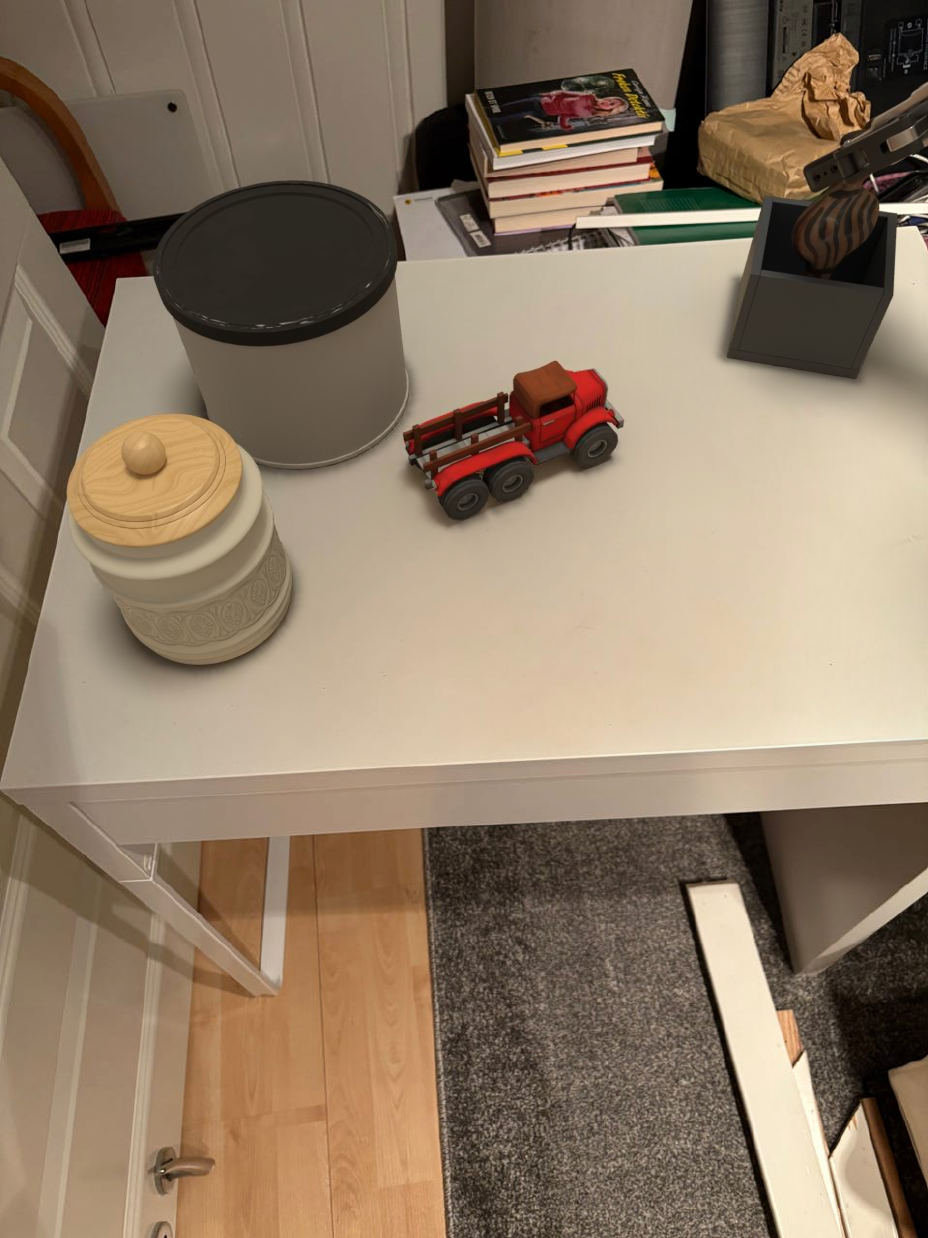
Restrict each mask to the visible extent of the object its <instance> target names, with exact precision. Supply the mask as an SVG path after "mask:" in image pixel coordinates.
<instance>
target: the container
mask: <svg viewBox="0 0 928 1238" xmlns="http://www.w3.org/2000/svg"><path fill="white" fill-rule="evenodd" d="M397 247H398V246H397V238H396V233H395V231H394V228H393V226H392V222H391V220H389V218H388V217H387V215H386V213H385V212H384V211H383V210H382V209H381V208H380V207H378V206H377V205H376V204H375V203H374V202H373V201H371V200H370V199H368V198H367V197H365V196H363V195H361V194H360V193H358V192H355V191H353V190H351V189H348V188H345V187H342V186H338V185H335V184H331V183H325V182H321V181H312V180H295V179H293V180H292V179H289V180H288V179H286V180H273V181H265V182H264V181H263V182H259V183H253V184H249V185H246V186H241V187H237V188H233V189H230V190H228V191H225V192H222V193H220V194H217V195H215V196H213V197H211V198H208V199H206V200H205V201H203V202H201V203H199V204H198V205H196V206H195V207H193V208H191V209H190V210H188V211H187V212H186V213H184V214H182V216H180V217H179V218H177V220H176V221H175V222H174V223H172V225H170V227H169V228H168V230H167V231H166V232H165V233H164V235H163V236H162V237H161V239H160V241H159V243H158V244H157V247H156V249H155V252H154V255H153V260H152V276H153V280H154V281H153V282H154V284H155V287H156V289H157V293H158V295H159V298H160V299H161V302H162V304H163V306H164V308H165V309H166V311H167V312H168V313H169V314H170V315H171V317H172V319H173V321H174V325H175V327H176V330H177V332H178V335H179V337H180V340H181V342H182V346H183V348H184V351H185V353H186V356H187V359H188V361H189V364H190V367H191V368H192V373H193V375H194V377H195V380H196V383H197V385H198V388H199V390H200V394H201V395H202V398H203V401H204V404H205V407H206V413H207V417H208V421H211V422H213V423H215V424H216V425H218V426H219V427H221V428H222V429H224V430H225V431H226V432H227V433H228V434H229V435H230V436H231V437H232V439H233V440H234V441H235V443H237V444H238V445H240V446H241V447H242V448H243V449H245V450H246V451H247V452H248V453H249V454H250V456H251V457H252V458H253V459H254V461H255V462H256V464H259V465H262V466H266V467H270V468H271V467H272V468H277V469H284V470H285V469H286V470H287V469H289V470H303V469H304V470H305V469H314V468H315V469H316V468H322V467H327V466H331V465H334V464H339V463H341V462H344V461H346V460H349V459H352V458H354V457H356V456H358V455H360V454H362V453H364V452H366V451H368V450H369V449H371V448H372V447H374V446H375V445H377V444H378V443H380V442H381V441H382V440H383V439H384V438H385V437H386V436H387V435H389V433H390V432H391V431H392V430H393V429H395V426H396V425H397V424H398V422H399V421H400V419H401V418H402V416H403V414H404V412H405V410H406V407H407V405H408V404H407V403H408V400H409V396H410V383H409V382H410V381H409V374H408V371H407V368H406V363H405V354H404V352H405V351H404V345H403V336H402V325H401V316H400V308H399V307H400V306H399V299H398V297H399V296H398V288H397V280H396V273H397V270H398V269H397V268H398V248H397Z"/></svg>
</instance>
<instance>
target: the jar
mask: <svg viewBox="0 0 928 1238" xmlns="http://www.w3.org/2000/svg"><path fill="white" fill-rule="evenodd" d="M257 464H258V463H256V462H255V461H254V459H253V458H252V457H251V456H250V454H249V453H248V452H247V451H246V450H245V449H243V448H242V447H241V446H240V445H238V444H237V443H235V441H234V440H233V439H232V437H231V436H230V435H229V434H228V433H227V432H226V431H225V430H224V429H222V428H221V427H219V426H218V425H216V424H215V423H213V422H211V421H210V420H209V419H205V418H202V417H200V416H197V415H191V414H184V413H161V414H152V415H148V416H147V415H146V416H143V417H139V418H136V419H133V420H130V421H128V422H125V423H122V424H121V425H118V426H117V427H114V428H112V429H111V430H109V431H107V432H106V433H104V434H103V435H102V436H100V437H99V438H97V439H96V440H95V441H94V442H92V443H91V445H89V446H88V447H87V448H86V449H85V450H84V451H83V452H82V454H81V455H80V457H79V458H78V459H77V461H76V462H75V464H74V466H73V467H72V469H71V472H70V475H69V477H68V480H67V486H66V501H67V505H68V516H67V517H68V518H67V519H68V529H69V534H70V538H71V541H72V543H73V544H74V546H75V548H76V549H77V551H78V553H79V554H80V555H81V556H82V557H83V558H84V559H85V560H86V562H88V563H89V566H90V568H91V571H92V573H93V575H94V576H95V578H96V579H97V581H98V582H99V583H100V585H101V586H102V587H103V588H104V589H105V590H106V591H107V592H108V593H109V594H110V596H111V597H112V599H113V601H114V602H115V603H116V605H117V606H118V608H119V609H120V612H121V615H122V617H123V619H124V621H125V623H126V625H127V626H128V628H129V629H130V631H131V632H132V633H133V635H134V636H135V637H136V638H137V639H138V641H140V643H142V644H143V645H145V646H146V647H147V648H149V649H150V650H151V651H153V652H154V653H156V654H157V655H159V656H161V657H163V658H164V659H167V660H169V661H172V662H175V663H179V664H186V665H197V666H199V665H200V666H201V665H212V664H219V663H222V662H226V661H230V660H232V659H235V658H238V657H240V656H242V655H244V654H246V653H248V652H250V651H251V650H253V649H255V648H256V647H258V646H259V645H260V644H262V643H263V642H264V641H265V640H267V638H269V637H270V636H271V634H273V632H274V631H276V629H278V627H279V626H280V624H281V622H282V621H283V619H284V617H285V616H286V614H287V611H288V610H289V609H288V608H289V606H290V603H291V598H292V593H293V591H292V590H293V572H292V571H293V569H292V565H291V561H290V559H289V555H288V552H287V550H286V547H285V545H284V544H283V542H282V541H281V539H280V538H281V537H280V536H279V533H278V529H277V526H276V524H275V517H274V510H273V506H272V502H271V501H270V498H269V496H268V495H267V493H266V492H265V490H264V482H263V477H262V473H261V470H260V468H259V465H257Z"/></svg>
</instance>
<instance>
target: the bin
mask: <svg viewBox="0 0 928 1238" xmlns="http://www.w3.org/2000/svg"><path fill="white" fill-rule="evenodd" d="M813 202H814V201H809V200H803V199H796V198H795V199H794V198H787V197H782V196H781V197H780V196H772V195H764V197H763V200H762V203H761V207H760V211H759V214H758V217H757V221H756V225H755V229H754V231H753V232H754V233H753V236H752V240H751V244H750V247H749V251H748V254H747V258H746V261H745V265H744V268H743V273H742V276H741V280H740V285H739V290H738V295H737V301H736V306H735V311H734V316H733V322H732V327H731V332H730V337H729V343H728V349H727V354H726V358H731V359H736V360H742V361H747V362H748V361H749V362H754V363H760V364H765V365H771V366H772V365H773V366H777V367H784V368H790V369H797V370H802V371H808V372H812V373H813V372H814V373H821V374H826V375H833V376H837V377H844V378H850V379H857V377H858V375H859V372H860V371H861V368H862V366H863V364H864V361H865V359H866V357H867V356H868V353H869V351H870V348H871V346H872V344H873V342H874V340H875V337H876V335H877V333H878V332H879V329H880V326H881V324H882V322H883V320H884V318H885V316H886V313H887V312H888V308H889V307H890V304H891V302H892V300H893V298H894V296H895V295H894V292H895V274H896V273H895V272H896V252H897V233H898V232H897V230H898V212H891V211H884V210H879V214H878V218H877V221H876V223H875V226H874V228H873V230H872V232H871V234H870V235H869V237H868V238H867V239H866V240H865V241H864V242H863V243H862V244H861V245H860V246H859V247H858V248H856V249H855V250H853V251H852V252H850V253H849V254H848V255H846V256H845V257H844V258H843V259H842V260H841V262H840V263H839V264H838V266H837V268H836V270H835V272H834V274H833V276H832V279H831V280H827V279H820V278H813V277H807V276H804V273H805V268H806V267H805V266H806V265H805V262H804V261H803V260H800V259H799V257H797V256H796V255H795V254H794V252H793V249H792V247H791V242H790V236H791V232H792V229H793V227H794V225H795V223H796V221H797V219H798V218H799V217H800V215H801V214H802V213H803V212H804V211H805V210H806V209H807V207H808V206H810V205H811V204H812V203H813Z"/></svg>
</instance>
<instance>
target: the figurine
mask: <svg viewBox="0 0 928 1238" xmlns="http://www.w3.org/2000/svg"><path fill="white" fill-rule="evenodd" d="M869 129H870V128H868V129H865V128H863V129H857V130H853V131H849V132H847V133H845V134H844V135H843V136H842V137H841V138H840V141H839V147H841V146H842V145H844V142H846V141H847V140H849V139H851V140H852V139H854V138H856V137H858V136H859V135H861V134H863V133H865V132H866V131H868V130H869ZM860 149H861V152H862V154H863V157H864V160H865V162H868V158H867V156H866V153H865V151H864V149H863V148H860ZM871 175H872V174H870V175H868V176H866V177H863V178H861V179H859V180H858V181H857V182H856V183H854V184H852V185H851V184H849V185H846V186H845V184H844V181H843V180H842V181H840V182H838V183H836V184H834V185H832V186H830V187H828V189H827V190H826V191H825V192H824V193H823V194H821V196H819V197H818V198H817V199H816V200H814V201H812V202H813V203H812V204H811V205H810V206H808V207H807V209H806V210H805V211H804V212H803V213H802V214H801V215H800V217H799V218H798V219H797V221H796V223H795V225H794V227H793V229H792V232H791V236H790V242H791V247H792V249H793V252H794V254H795V255H796V256H797V257H799V259H800V260H803V261H804V262H805V265H806V266H805V267H806V268H805V273H804V276H807V277H813V278H820V279H827V280H831V279H832V276H833V274H834V272H835V270H836V268H837V266H838V264H839V263H840V262H841V260H842V259H843V258H844V257H845V256H846V255H848V254H849V253H850V252H852V251H853V250H855V249H856V248H858V247H859V246H860V245H861V244H862V243H863V242H864V241H865V240H866V239H867V238H868V237H869V235H870V234H871V232H872V230H873V228H874V226H875V223H876V221H877V218H878V214H879V211H880V209H881V208H880V201H879V199H878V197H877V196H876V195H875V194H874V193H873V192H872V191H870V190H869V189H868V188H866V187H864V185H863V183H864V182H865V180H867V179H868V178H869V177H870V176H871Z"/></svg>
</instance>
